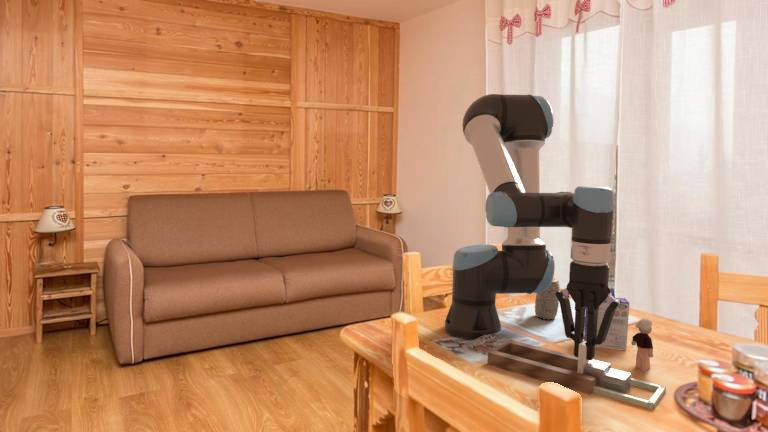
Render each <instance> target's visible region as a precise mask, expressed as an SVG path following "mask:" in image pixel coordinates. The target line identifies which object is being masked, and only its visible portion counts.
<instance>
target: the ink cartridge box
mask: <svg viewBox="0 0 768 432" xmlns="http://www.w3.org/2000/svg"><path fill="white" fill-rule="evenodd" d="M609 290H610V294H611V295H612V296H613V297H614V298H615V299H619V300H621V304H620V306H619V307H618V308H617V309H616V310H615V313H614V316H613V319H612V322H611V325H610V328H609V331H608V333H607V336H606V339H605V341H604V342H603V343H601V344H600V345H598V344H597V345H595V349H596V348H597V349H609V350H620V351H626V350H627V349H628V347H627V346H628V345H627V344H628V331H629V317H630V316H629V315H630V302H629V301H628V300H627V299H626V298H625V297H624V298H623V297H616V294H615V289H613V288H609ZM606 303H607V300H605V301H604V302H603V303H602V304H601V305H600V306H599V310H598V319H597V335H598V332H599V329H600V326H601V323H602V320H603V317H604V314H605V311H606V309H607V308H608V307H607V305H606ZM587 321H588V312H587V307H586V309H585V325H584V337H585V338H584V339H583V341H586V339H587ZM596 337H597V336H596Z"/></svg>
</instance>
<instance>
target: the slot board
mask: <svg viewBox="0 0 768 432" xmlns="http://www.w3.org/2000/svg"><path fill="white" fill-rule="evenodd" d="M485 366H488V367H492V368H495V369H500V370H502V371H505V372H506V371H507V372H510V373H512V374H513V373H514V374H517V375H519V376H523V377H527V378H531V379H534V380H537V381H541V382H545V383H547V382H554V383H558V384H560V385H562V386H564V387H563V388H565V387H567V388H566V389H568V388H569V390H572V391H576V392H579V393H583V394H585V395H588V396H591V394H593V387H594V386H595V384H596V378H595V377H592V376H588V375H584V374H580V373H577V368H578V357H575V356H574V354H569V353H565V352H560V351H558V350H557V351H556V350H553V349H550V348H549V349H548V348H544V347H541V346H538V345H533V344H529V343H525V342H521V341H518V340H517V341H516V340H512V339H509V340H507V341H506V342H504V343H502V344H501V345H498V346H497V347H495V348H493V349H491V350H489V351H488V352H487V362H486V363H485Z"/></svg>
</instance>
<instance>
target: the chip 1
mask: <svg viewBox="0 0 768 432" xmlns="http://www.w3.org/2000/svg"><path fill="white" fill-rule="evenodd" d="M611 365H612V364H611V363H610V362H605V361H601V360H598V359H594V358H593V359H592V360H591V361H590V360H589V361H588V362H587V363H585V364H584V369H583V374H584V375H588V376H592V377H595V378H596V384H595V386H598V387H601V388H603V379H604V374H605V373H606V372H607V371H608V370H609V369H610V368H611V367H612V366H611Z"/></svg>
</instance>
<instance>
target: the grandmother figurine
mask: <svg viewBox="0 0 768 432" xmlns="http://www.w3.org/2000/svg"><path fill="white" fill-rule="evenodd" d="M652 325H653V321H652V320H651V319H650V318H645V317H644V318H640V320H638V321H637V322H636V324H635V326H634V327H635V328H636V329H638V331H639V332H637V333H635V334H634V335H633V336H632V341H631V342H630V343H631V345H632V346H636V347H637V350H636V357H635V358H636V359H635V367H636V368H638V369H640V371H643V372H649V369H651V360H650V359H651V358H653V357H654V347H653V340H652V337H651V336H650V335H649V334H651V332H652Z"/></svg>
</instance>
